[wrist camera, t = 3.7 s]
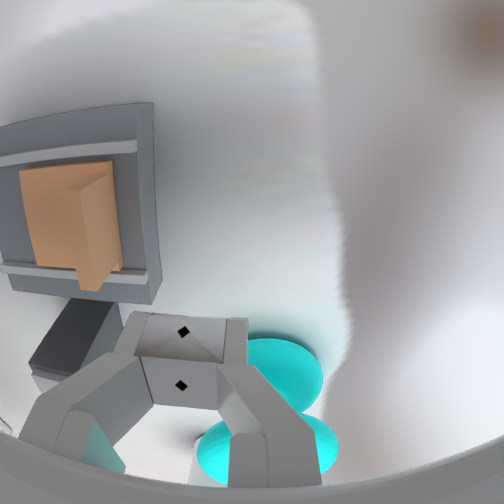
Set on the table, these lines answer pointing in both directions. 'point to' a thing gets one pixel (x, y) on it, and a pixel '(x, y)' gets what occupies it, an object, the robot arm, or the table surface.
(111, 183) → the block
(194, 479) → the drinking glass
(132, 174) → the socket plate
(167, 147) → the table surface
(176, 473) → the table surface
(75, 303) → the plug
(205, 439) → the donuts
